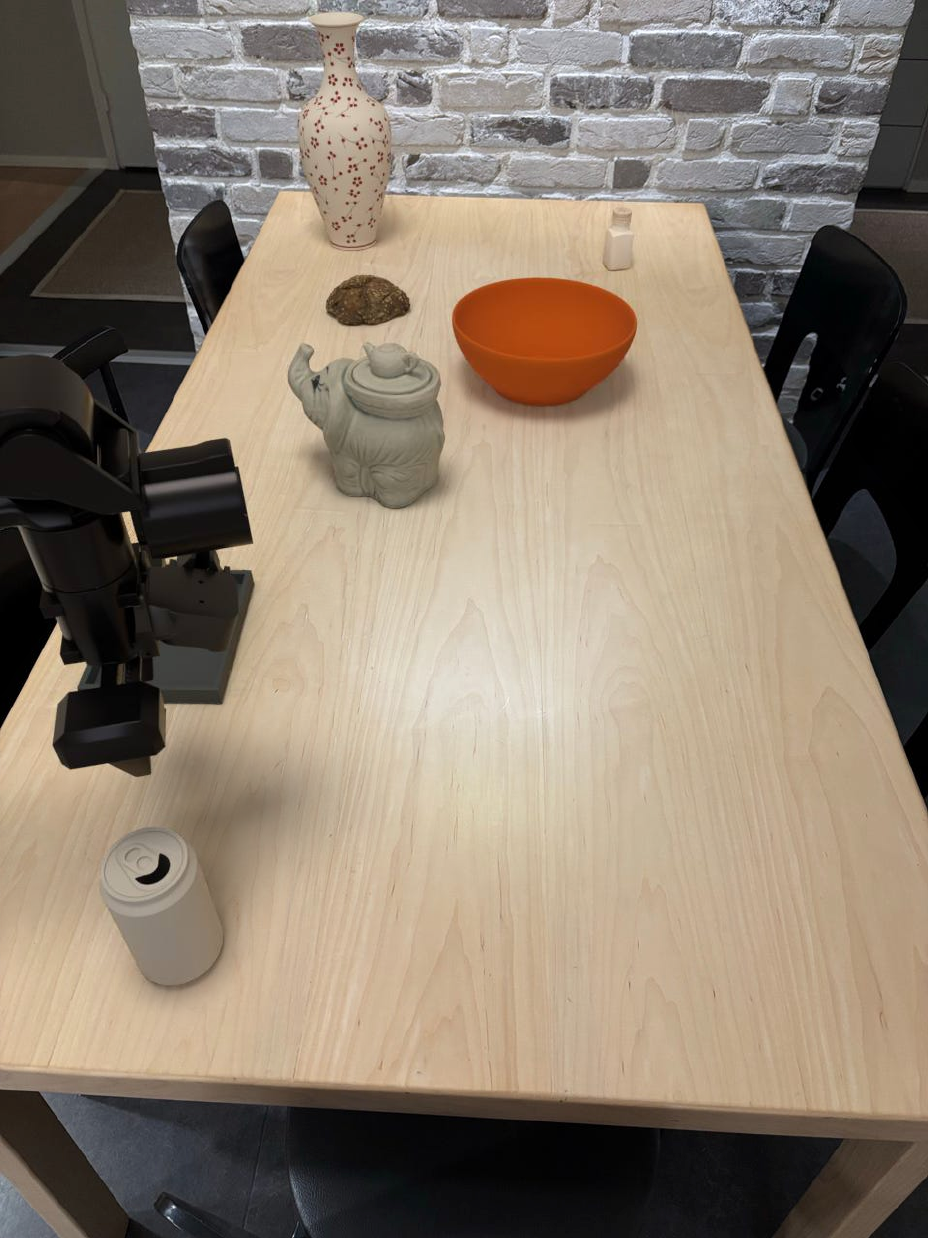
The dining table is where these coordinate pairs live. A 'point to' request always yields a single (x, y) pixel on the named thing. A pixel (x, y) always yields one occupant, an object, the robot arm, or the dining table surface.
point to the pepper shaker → (619, 240)
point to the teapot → (375, 420)
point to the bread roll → (367, 300)
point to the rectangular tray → (192, 662)
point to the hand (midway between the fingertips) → (145, 724)
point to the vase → (345, 140)
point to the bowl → (543, 337)
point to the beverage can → (161, 905)
